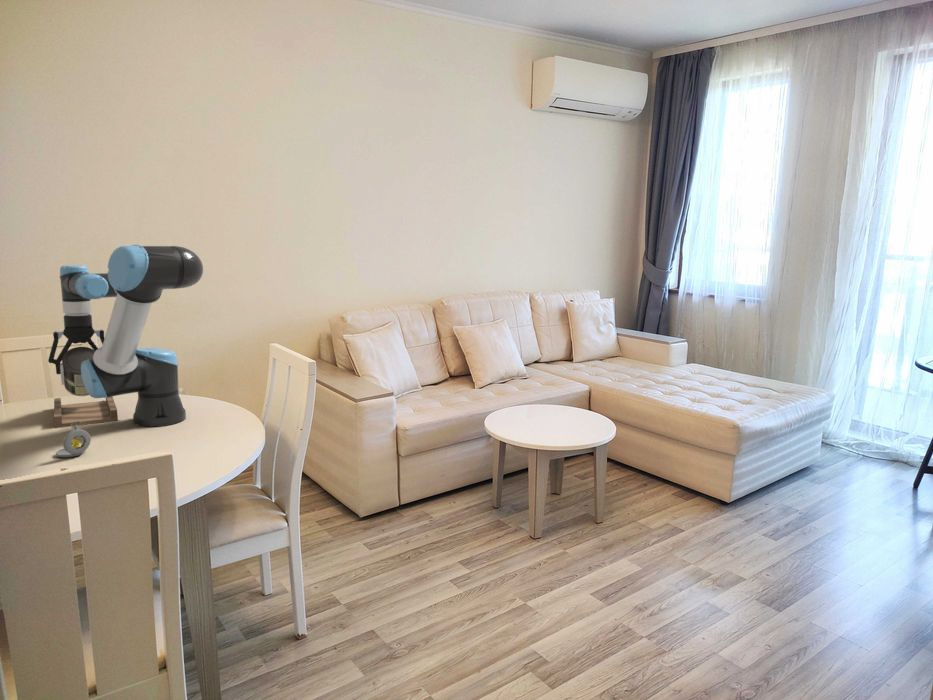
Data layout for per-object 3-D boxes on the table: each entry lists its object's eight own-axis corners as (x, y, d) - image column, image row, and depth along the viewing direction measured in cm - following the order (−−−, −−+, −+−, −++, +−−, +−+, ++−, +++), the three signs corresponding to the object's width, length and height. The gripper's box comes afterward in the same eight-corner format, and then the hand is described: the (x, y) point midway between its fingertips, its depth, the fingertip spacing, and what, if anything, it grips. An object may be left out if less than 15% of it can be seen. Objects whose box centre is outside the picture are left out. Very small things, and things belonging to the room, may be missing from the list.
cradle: (55, 408, 203) (54, 398, 202) (112, 402, 212) (111, 393, 211) (55, 427, 183) (54, 416, 183) (117, 420, 192) (117, 409, 192)
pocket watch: (64, 450, 165) (61, 414, 163) (97, 450, 166) (94, 415, 164) (47, 460, 157) (43, 423, 155) (81, 460, 158) (77, 424, 156)
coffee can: (57, 391, 196) (55, 367, 186) (73, 366, 203) (71, 342, 193) (92, 400, 199) (91, 377, 189) (106, 376, 206) (106, 352, 196)
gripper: (117, 311, 201) (121, 376, 205) (34, 314, 189) (40, 383, 193) (119, 314, 195) (123, 381, 199) (33, 317, 183) (40, 388, 186)
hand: (82, 382), depth 196 cm, fingers closed on coffee can, 10 cm apart
